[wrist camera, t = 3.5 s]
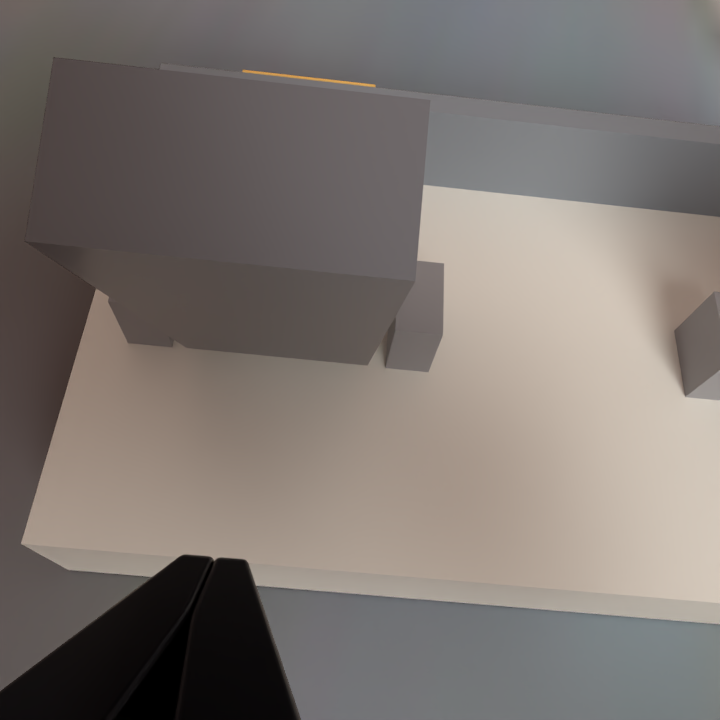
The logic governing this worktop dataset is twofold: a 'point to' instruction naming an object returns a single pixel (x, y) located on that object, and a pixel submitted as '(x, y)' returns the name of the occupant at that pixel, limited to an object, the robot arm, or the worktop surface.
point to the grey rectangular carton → (234, 205)
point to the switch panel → (445, 395)
